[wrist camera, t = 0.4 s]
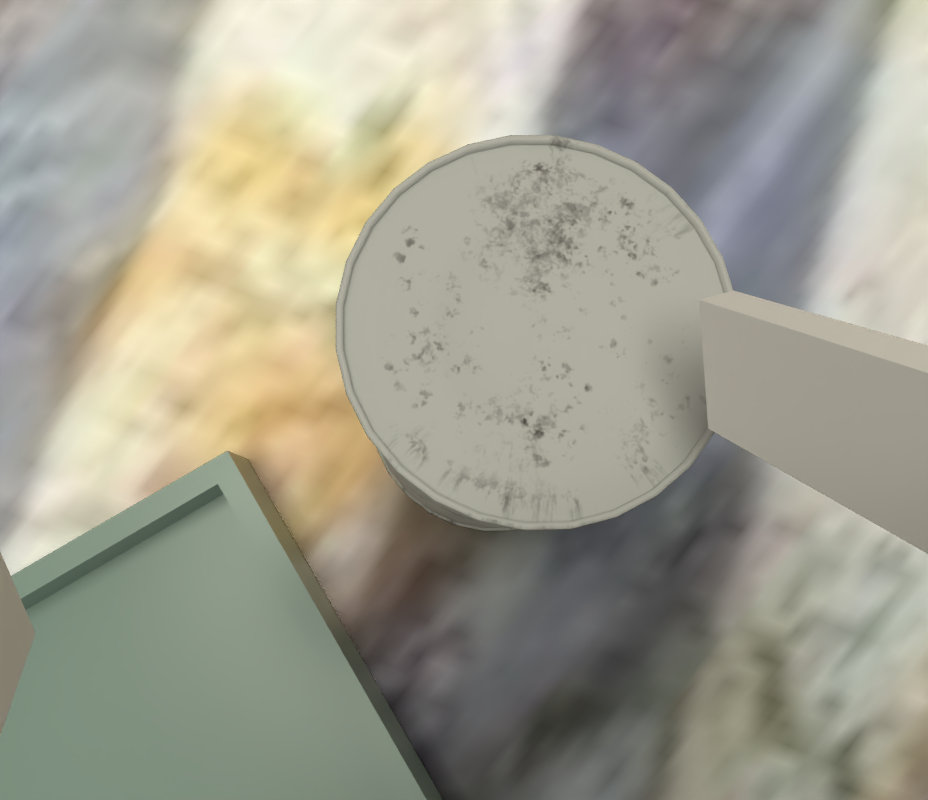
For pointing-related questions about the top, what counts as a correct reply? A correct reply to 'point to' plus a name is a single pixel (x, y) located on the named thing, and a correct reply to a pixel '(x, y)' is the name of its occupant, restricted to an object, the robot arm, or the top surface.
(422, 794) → the tray
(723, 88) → the top surface
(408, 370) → the speckled white canister
